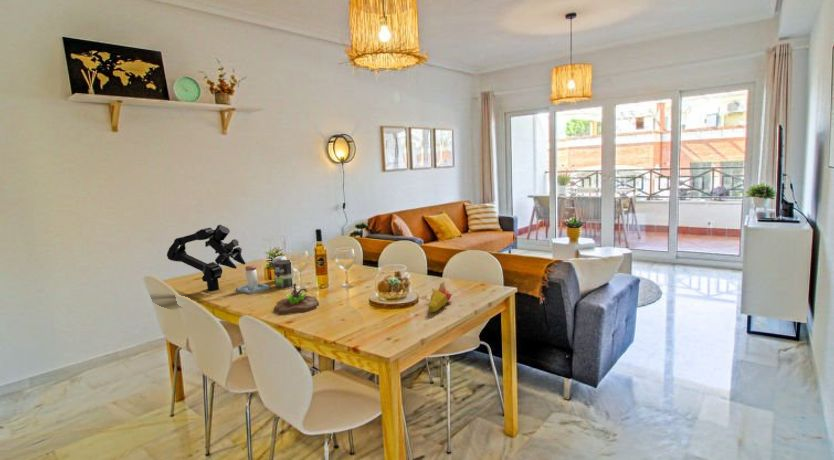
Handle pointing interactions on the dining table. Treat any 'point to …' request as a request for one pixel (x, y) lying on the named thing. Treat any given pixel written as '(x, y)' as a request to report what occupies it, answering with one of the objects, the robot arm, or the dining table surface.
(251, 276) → the shaker
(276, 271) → the coffee can
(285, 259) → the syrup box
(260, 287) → the tray
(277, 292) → the dining table surface
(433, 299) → the flower bouquet
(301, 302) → the plant
